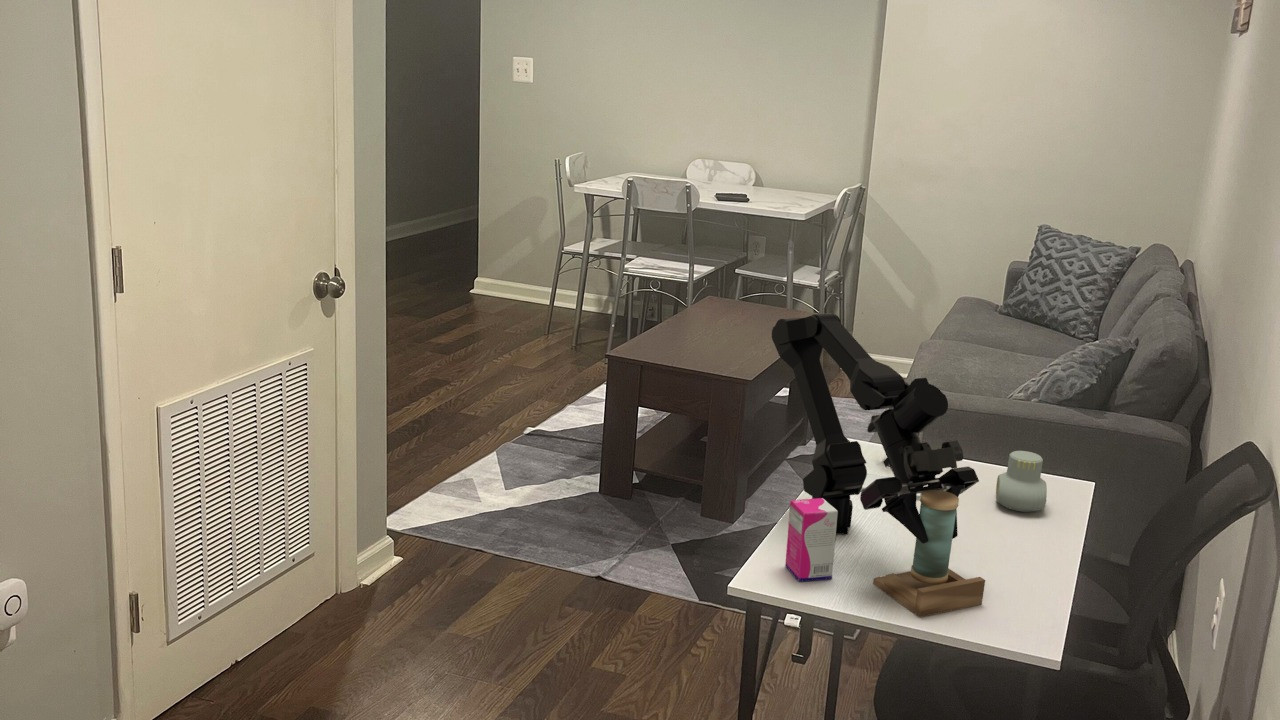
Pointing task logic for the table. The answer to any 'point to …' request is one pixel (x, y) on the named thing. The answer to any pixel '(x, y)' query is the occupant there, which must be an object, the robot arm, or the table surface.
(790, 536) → the supplement box
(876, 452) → the table surface
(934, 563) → the oak spool
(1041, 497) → the air freshener
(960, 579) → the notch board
